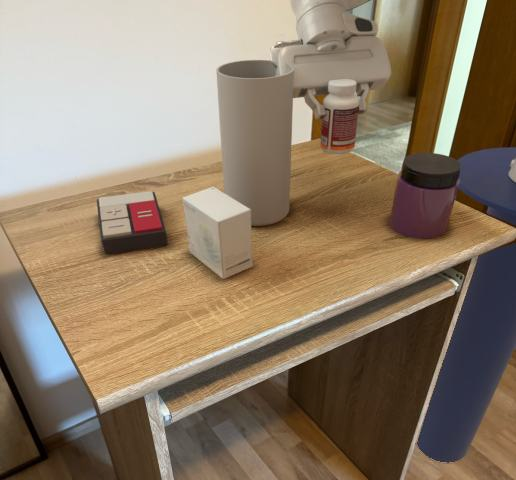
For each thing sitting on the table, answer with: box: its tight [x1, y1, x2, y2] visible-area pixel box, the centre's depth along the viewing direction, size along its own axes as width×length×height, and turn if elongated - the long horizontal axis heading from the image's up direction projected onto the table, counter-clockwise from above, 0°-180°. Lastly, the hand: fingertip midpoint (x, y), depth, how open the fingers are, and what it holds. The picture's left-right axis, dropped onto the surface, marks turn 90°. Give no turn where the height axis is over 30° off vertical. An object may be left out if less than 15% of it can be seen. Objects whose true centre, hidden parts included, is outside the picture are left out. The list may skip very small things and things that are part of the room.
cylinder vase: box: [215, 59, 294, 227], centre depth 87 cm, size 12×12×25 cm
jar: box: [389, 170, 460, 240], centre depth 87 cm, size 10×10×11 cm
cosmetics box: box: [182, 186, 254, 280], centre depth 79 cm, size 10×6×10 cm, turn 37°
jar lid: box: [400, 152, 461, 188], centre depth 84 cm, size 10×10×2 cm
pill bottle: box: [319, 79, 360, 155], centre depth 85 cm, size 6×6×11 cm
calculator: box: [96, 190, 168, 255], centre depth 89 cm, size 11×4×15 cm
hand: (341, 115), depth 84 cm, fingers closed on pill bottle, 6 cm apart
